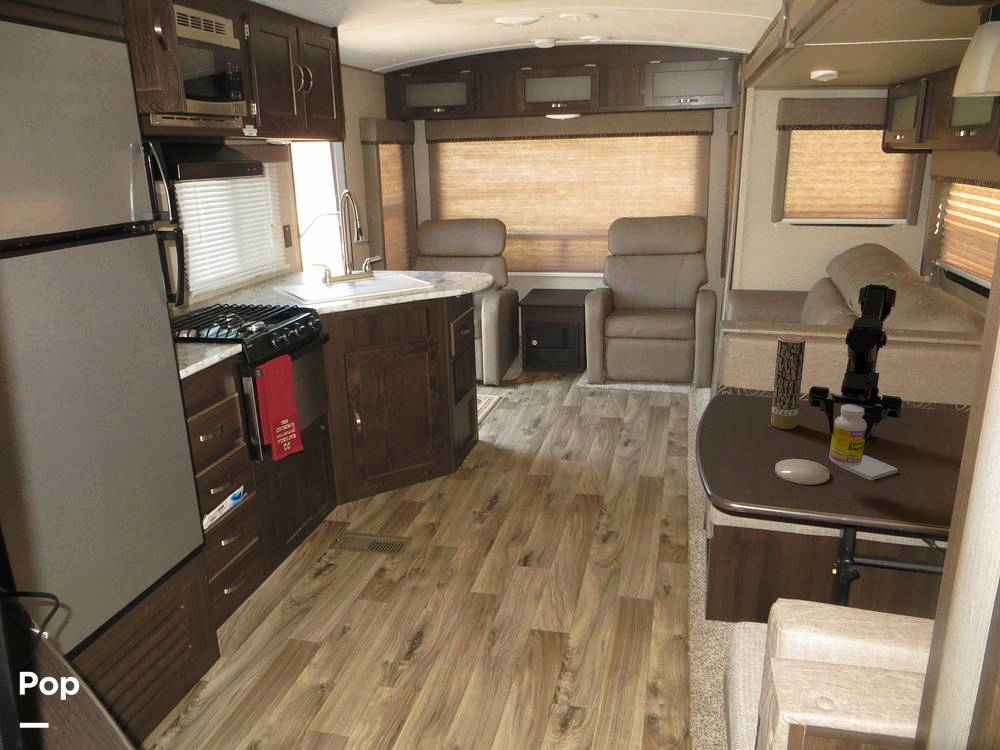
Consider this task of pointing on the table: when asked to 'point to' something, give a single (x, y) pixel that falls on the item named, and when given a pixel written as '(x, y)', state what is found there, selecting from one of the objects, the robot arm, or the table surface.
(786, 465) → the round coaster
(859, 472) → the square tile
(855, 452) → the supplement bottle
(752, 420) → the table surface
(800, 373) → the paper tube
